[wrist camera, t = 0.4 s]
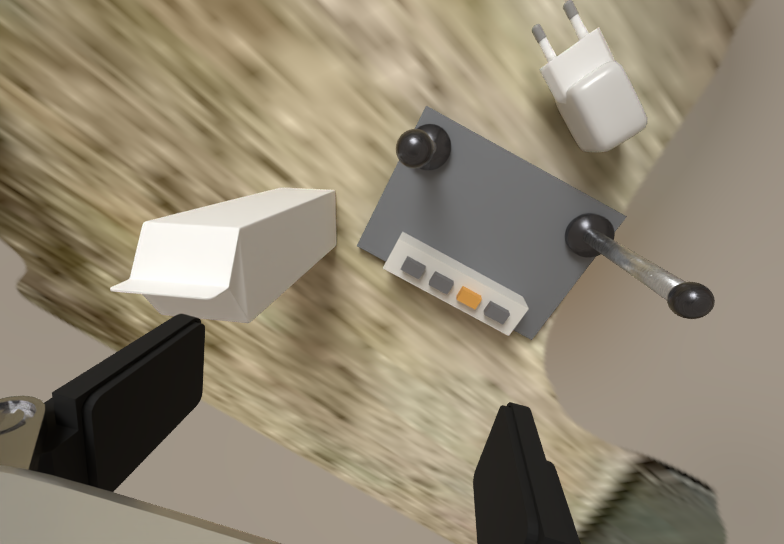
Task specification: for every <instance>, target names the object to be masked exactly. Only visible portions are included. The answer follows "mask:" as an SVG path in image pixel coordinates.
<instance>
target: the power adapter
mask: <svg viewBox="0 0 784 544" xmlns="http://www.w3.org/2000/svg"><path fill="white" fill-rule="evenodd" d="M563 9H564V11H565V13H566V15H567V17H568V19H569V20H570V22H571V24H572V26H573V27H574V29H575V31H576V35H577V37H578V39H579V41H578V42H577V43H575V44H574V45H572V46H571V47H570V48H568V49H567V50H565V51H564V52H563V53H561V54H560V55H558V56H557V55H556V54H555V52H554V50H553V49H552V47H551V45H550V43H549V41H548V39H547V38H546V37H547V36H546V35H545V33H544V31H543V29H542V27H541V25H540V24H536V25H534V26H533V28H532V33H533V35H534V37H535V39H536V40H537V42H538V43H539V45H540V47H541V49H542V51H543V53H544V54H545V58H546V59H547V61H548V63H547V64H546V65H545V66H543V67H542V68H540V69H539V70H540V72H541V74H542V76H543V78H544V80H545V81H546V83H547V85H548V87H549V89H550V91H551V93H552V95H553V96H554V98H555V102H556V106H557V108H558V110H559V112H560V114H561V116H562V118H563V119H564V121H565V123H566V125H567V127H568V129H569V131H570V132H571V134H572V136H573V138H574V140H575V141H576V143H577V145H578V146H579V148H580V149H581V150H582V151H585V152H607V151H609V150H611V149H613V148H615V147H616V146H618V145H620V144H621V143H623V142H625V141H626V140H628V139H630V138H631V137H633V136H635V135H636V134H638V133H639V132H641V131H642V130H643V129H644V128H645V127H646V125H647V116H646V113H645V111H644V109H643V107H642V104H641V102H640V100H639V98H638V96H637V94H636V92H635V90H634V88H633V86H632V84H631V82H630V80H629V78H628V76H627V74H626V72H625V70H624V69H623V67H622V65H620V64H619V63H618V62H617V61H615V59H614V56H613V54H612V52H611V50H610V48H609V46H608V44H607V42H606V40H605V38H604V36H603V34H602V32H601V30H600V28H599V27H598V28H597V29H595V30H594V31H592V32H591V33H588V31H587V29H586V27H585V26H584V24H583V22H582V20H581V18H580V16H579V14H578V11H577V9H576V7H575V5H574V3H573V1H572V0H568V1H566V2H565V4H564V5H563Z"/></svg>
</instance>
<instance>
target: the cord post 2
mask: <svg viewBox="0 0 784 544" xmlns="http://www.w3.org/2000/svg"><path fill="white" fill-rule="evenodd" d="M614 234H615V233H614V227H613V225H612V224H611V222H610V221H609V220H608V219H606V218H605V217H603V216H600V215H598V214H594V213H586V214H582V215H579V216H577V217H576V218H574V219H573V220H572V221H571V222H570V223H569V225H568V226H567V228H566V231H565V242H566V244H567V246H568V247H569V248H570V249H571V250H572V251H573V252H574V253H575V254H577V255H579V256H582V257H595V256H598V255H600V254H602V255H603V256H605V257H606V258H608V259H609V260H611V261H612V262H613V263H615V264H616V265H618V266H619V267H620V268H622V269H623V270H625V271H626V272H628V273H629V274H630V275H632V276H633V277H634V278H636V279H637V280H639V281H640V282H641V283H643V284H644V285H646V286H647V287H648V288H650V289H651V290H653V291H654V292H656V293H657V294H658V295H660V296H661V297H662V298H664V299H666V300H667V302H668V305H669V307H670V309H671V310H672V311H673V312H674V313H675V314H677V315H678V316H680V317H683V318H688V319H696V318H701V317H703V316H705V315H707V314H708V313H709V312H710V311H711V310H712V309H713V307H714V301H715V300H714V296H713V294H712V292H711V291H710V290H709V289H708V288H707V287H705V286H704V285H702V284H699V283H695V282H685V281H683V280H682V279H680V278H678V277H676V276H675V275H673V274H671V273H669V272H668V271H665V270H664V269H662V268H661V267H659V266H657V265H655V264H654V263H652V262H650V261H649V260H647V259H645V258H643V257H642V256H640V255H638V254H636V253H635V252H633V251H631V250H629V249H628V248H626V247H624V246H623V245H621V244H619V243H617V242H615V241H614Z"/></svg>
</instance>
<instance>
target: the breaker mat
mask: <svg viewBox="0 0 784 544" xmlns="http://www.w3.org/2000/svg"><path fill="white" fill-rule="evenodd" d="M425 124H435V125H438V126H440V127H441V128H443V129H444V130H445V131H446V132H447V134H448V135H449V137H450V141H451V152H450V155H449V158H448V159H447V161H446V162H445V163H444V164H443V165H442V166H441V167H439V168H437V169H434V170H423V169H420V168H417V169H412V168H408V167H406V166H404V165H403V164H402V163H401V162H400V161H399V162H398V164H397V166H396V168H395V170H394V172H393V174H392V176H391V178H390V180H389V182H388V184H387V186H386V188H385V190H384V192H383V194H382V196H381V198H380V200H379V202H378V204H377V206H376V208H375V210H374V212H373V214H372V216H371V218H370V220H369V222H368V224H367V226H366V228H365V230H364V232H363V234H362V236H361V238H360V240H359V242H358V244H357V246H358V247H360V248H361V249H363V250H365V251H367V252H369V253H371V254H373V255H374V256H376V257H378V258H380V259H382V260H384V261H386V263H385V265H384V267H383V269H385V270H387V271H389V272H390V273H392V274H394V275H396V276H398V277H400V278H402V279H403V280H405V281H407V282H409V283H411V284H413V285H415V286H417V287H418V288H420V289H422V290H424V291H426V292H428V293H430V294H431V295H433V296H435V297H437V298H439V299H441V300H443V301H444V302H446V303H448V304H450V305H452V306H454V307H456V308H457V309H459V310H461V311H463V312H465V313H467V314H469V315H470V316H472V317H474V318H476V319H478V320H480V321H482V322H483V323H485V324H487V325H489V326H491V327H493V328H495V329H497V330H498V331H500V332H502V333H504V334H506V335H508V336H509V335H510V334H511V332H512V331H513V330H514V331H516V332H518V333H519V334H521V335H523V336H525V337H527V338H529V339H531V340H532V339H533V338H534V336H535V335H536V334H537V332H538V331H539V330H540V328H541V327H542V326H543V325H544V323H545V322H546V321H547V319H548V318H549V317H550V315H551V314H552V313H553V312H554V310H555V309H556V308H557V306H558V305H559V304H560V303H561V301H562V300H563V299H564V297H565V296H566V295H567V293H568V292H569V291H570V290H571V288H572V287H573V286H574V284H575V283H576V282H577V280H578V279H579V278H580V277H581V275H582V274H583V273H584V271H585V270H586V269H587V267H588V266H589V265H590V264H591V262H592V261H593V260H594V258H595V257H596V256H595V257H582V256H579V255H577V254H575V253H574V252H573V251H572V250H571V249H570V248H569V247H568V246H567V244H566V242H565V231H566V228H567V226H568V225H569V223H570V222H571V221H572V220H573V219H574V218H576V217H577V216H579V215H582V214H586V213H594V214H598V215H600V216H603V217H605V218H606V219H608V220H609V221H610V222H611V224H612V225H613V227H614V232H615V231H616V230H617V229H618V227H619V226H620V225H621V223H622V222H623V221H624V219H625V218H626V216H625V215H623V214H621V213H619V212H617V211H616V210H614V209H612V208H610V207H608V206H607V205H605V204H603V203H601V202H599V201H598V200H596V199H594V198H592V197H590V196H589V195H587V194H585V193H583V192H581V191H580V190H578V189H576V188H574V187H572V186H570V185H569V184H567V183H565V182H563V181H561V180H560V179H558V178H556V177H554V176H552V175H551V174H549V173H547V172H545V171H543V170H542V169H540V168H538V167H536V166H534V165H532V164H531V163H529V162H527V161H525V160H523V159H522V158H520V157H518V156H516V155H514V154H513V153H511V152H509V151H507V150H505V149H504V148H502V147H500V146H498V145H496V144H495V143H493V142H491V141H489V140H487V139H485V138H484V137H482V136H480V135H478V134H476V133H475V132H473V131H471V130H469V129H467V128H466V127H464V126H462V125H460V124H458V123H457V122H455V121H453V120H451V119H449V118H447V117H446V116H444V115H442V114H440V113H438V112H437V111H435V110H433V109H431V108H429V107H428V106H426V107H425V109H424V111H423V113H422V115H421V117H420V119H419V121H418V123H417V125H416V127H415V129H417V128H418V127H420V126H422V125H425Z"/></svg>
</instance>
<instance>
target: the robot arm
mask: <svg viewBox="0 0 784 544" xmlns="http://www.w3.org/2000/svg"><path fill="white" fill-rule="evenodd" d="M204 342H205V326H204V325H203V324H201V320H200V319H199V318H197V317H193V316H189V315H186V314H178V315H176V316H174V317H173V318H171V319H169V320H168V321H166V322H164V323H163V324H161V325H160V326H158V327H156V328H155V329H153V330H152V331H150V332H148V333H147V334H145V335H144V336H142V337H140V338H139V339H137V340H136V341H134V342H132V343H131V344H129V345H128V346H126V347H124V348H123V349H121V350H120V351H118V352H116V353H115V354H113V355H112V356H110V357H108V358H107V359H105V360H103V361H102V362H100V363H99V364H97V365H95V366H94V367H92V368H91V369H89V370H87V371H86V372H84V373H83V374H81V375H80V376H78V377H76V378H75V379H73V380H71V381H70V382H68V383H67V384H65V385H63V386H62V387H60V388H59V389H57V390H55V391H54V392H52V398H51V399H49V400H48V401H46V402H45V403H43V402H42V401H41V400H40V399H37V398H35V397H30V396H13V397H6V398H2V399H0V544H281V543H278V542H275V541H272V540H269V539H265V538H262V537H259V536H256V535H252V534H249V533H246V532H243V531H239V530H236V529H233V528H229V527H226V526H223V525H220V524H216V523H213V522H210V521H207V520H203V519H200V518H197V517H193V516H190V515H187V514H183V513H180V512H177V511H173V510H170V509H166V508H163V507H160V506H157V505H153V504H150V503H147V502H144V501H140V500H137V499H134V498H130V497H127V496H124V495H120V494H117V493H114V490H115V489H116V488H117V487H118V486H119V485H120V484H121V483H122V482H123V481H124V480H125V479H126V478H127V477H128V476H129V475H130V474H131V473H132V472H133V471H134V470H135V469H136V468H137V467H138V465H140V463H142V462H143V461H144V459H146V457H147V456H148V455H149V454H150V453H151V452H152V451H153V450H154V449H155V448H156V447H157V446H158V445H159V444H160V443H161V442H162V441H163V440H164V439H165V438H166V437H167V436H168V435H169V434H170V433H171V432H172V430H174V429H175V428H176V427H177V425H178V424H179V423H180V422H181V421H182V420H183V419H184V418H185V417H186V416H187V415H188V414H189V413H190V412H191V411H192V410H193V409H194V408H195V407H196V406H197V405H198V403H199V402H200V400H201V397H202V391H203V366H204ZM473 489H474V503H475V516H476V530H477V544H580V541H579V538H578V535H577V532H576V529H575V525H574V522H573V519H572V516H571V513H570V510H569V507H568V504H567V501H566V498H565V495H564V492H563V489H562V486H561V483H560V480H559V477H558V474H557V471H556V469H555V466H554V464H552V463H551V462H550V461H546V458H545V454H544V451H543V448H542V445H541V442H540V438H539V435H538V432H537V429H536V425H535V422H534V419H533V416H532V413H531V410H530V408H529V407H526V406H522V405H519V404H515V403H511V402H509V403H508V404H507V406H503V405H502V406H501V407H500V409H499V411H498V414H497V416H496V419H495V421H494V424H493V426H492V429H491V432H490V434H489V437H488V439H487V442H486V444H485V447H484V449H483V452H482V455H481V457H480V460H479V462H478V465H477V467H476V470H475V473H474V479H473Z"/></svg>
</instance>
